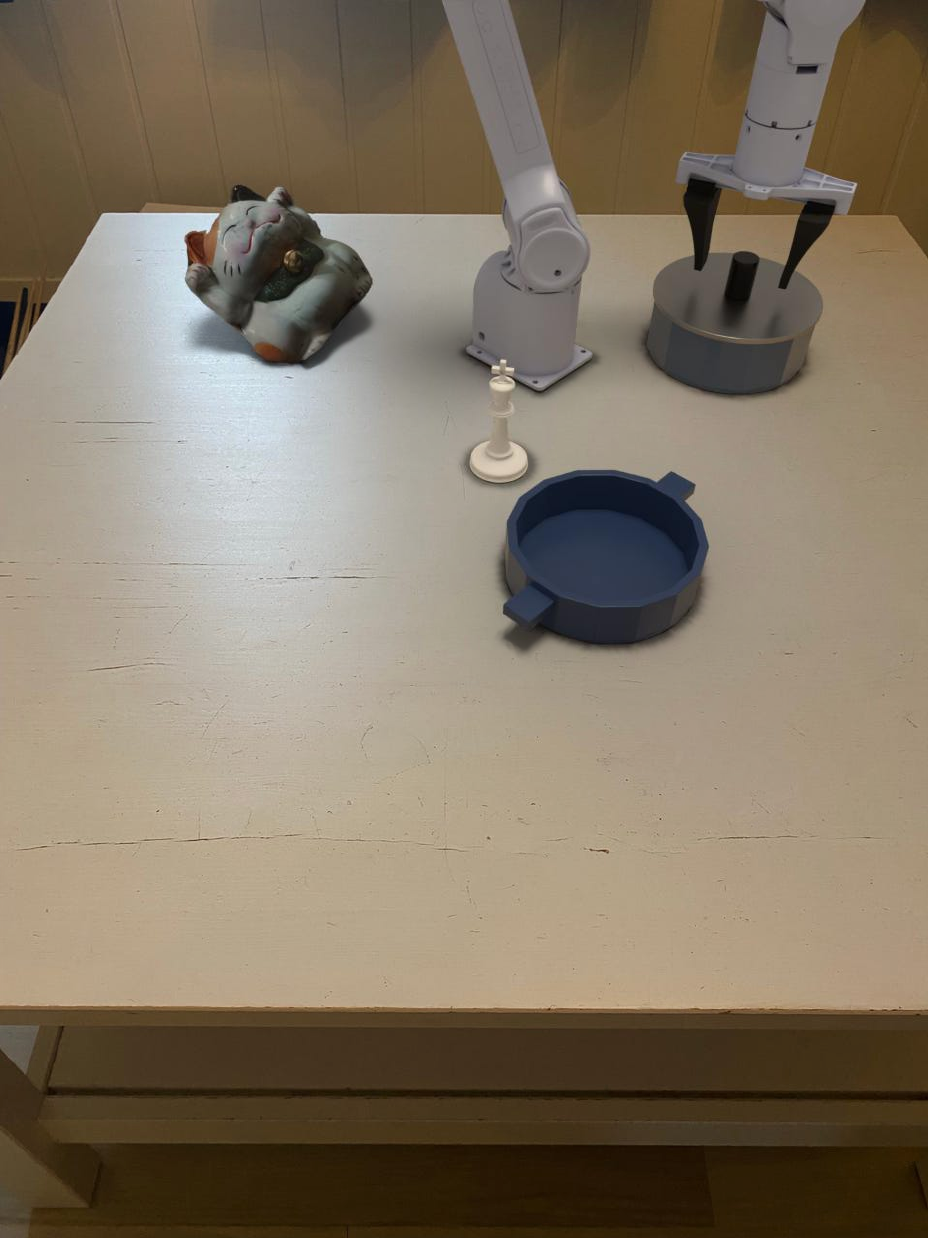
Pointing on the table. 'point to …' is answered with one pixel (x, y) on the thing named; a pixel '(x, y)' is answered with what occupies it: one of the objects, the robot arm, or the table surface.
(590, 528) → the pan
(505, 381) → the chess piece
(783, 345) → the pot
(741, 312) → the lid
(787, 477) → the table surface
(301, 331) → the lucky cat figurine
